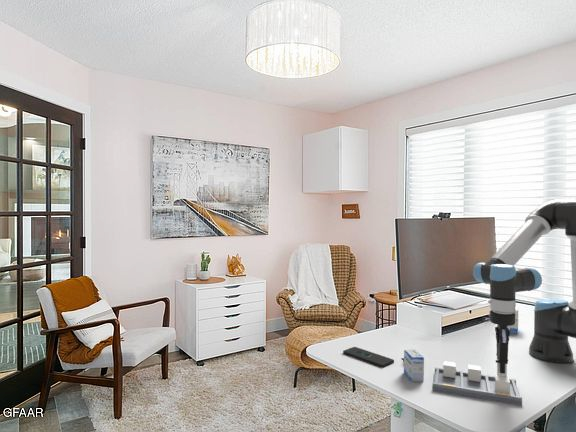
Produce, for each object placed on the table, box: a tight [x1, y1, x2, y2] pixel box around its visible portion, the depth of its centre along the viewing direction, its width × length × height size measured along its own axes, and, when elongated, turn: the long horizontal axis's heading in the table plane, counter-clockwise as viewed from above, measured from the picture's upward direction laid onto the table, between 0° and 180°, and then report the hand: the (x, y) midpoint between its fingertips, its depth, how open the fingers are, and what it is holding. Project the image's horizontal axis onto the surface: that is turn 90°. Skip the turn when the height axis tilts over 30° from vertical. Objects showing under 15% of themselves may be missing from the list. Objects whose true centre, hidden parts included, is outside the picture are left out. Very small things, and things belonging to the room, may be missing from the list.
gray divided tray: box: [432, 366, 523, 406], centre depth 135 cm, size 26×15×2 cm, turn 67°
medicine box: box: [403, 349, 425, 382], centre depth 143 cm, size 8×4×9 cm, turn 5°
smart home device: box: [342, 346, 395, 369], centre depth 161 cm, size 8×2×20 cm
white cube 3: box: [442, 360, 457, 378], centre depth 141 cm, size 4×4×4 cm
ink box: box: [507, 306, 519, 335], centre depth 197 cm, size 9×8×12 cm
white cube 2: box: [467, 364, 482, 382], centre depth 138 cm, size 4×4×4 cm
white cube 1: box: [494, 375, 510, 394], centre depth 129 cm, size 4×4×4 cm
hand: (501, 381), depth 133 cm, fingers closed
